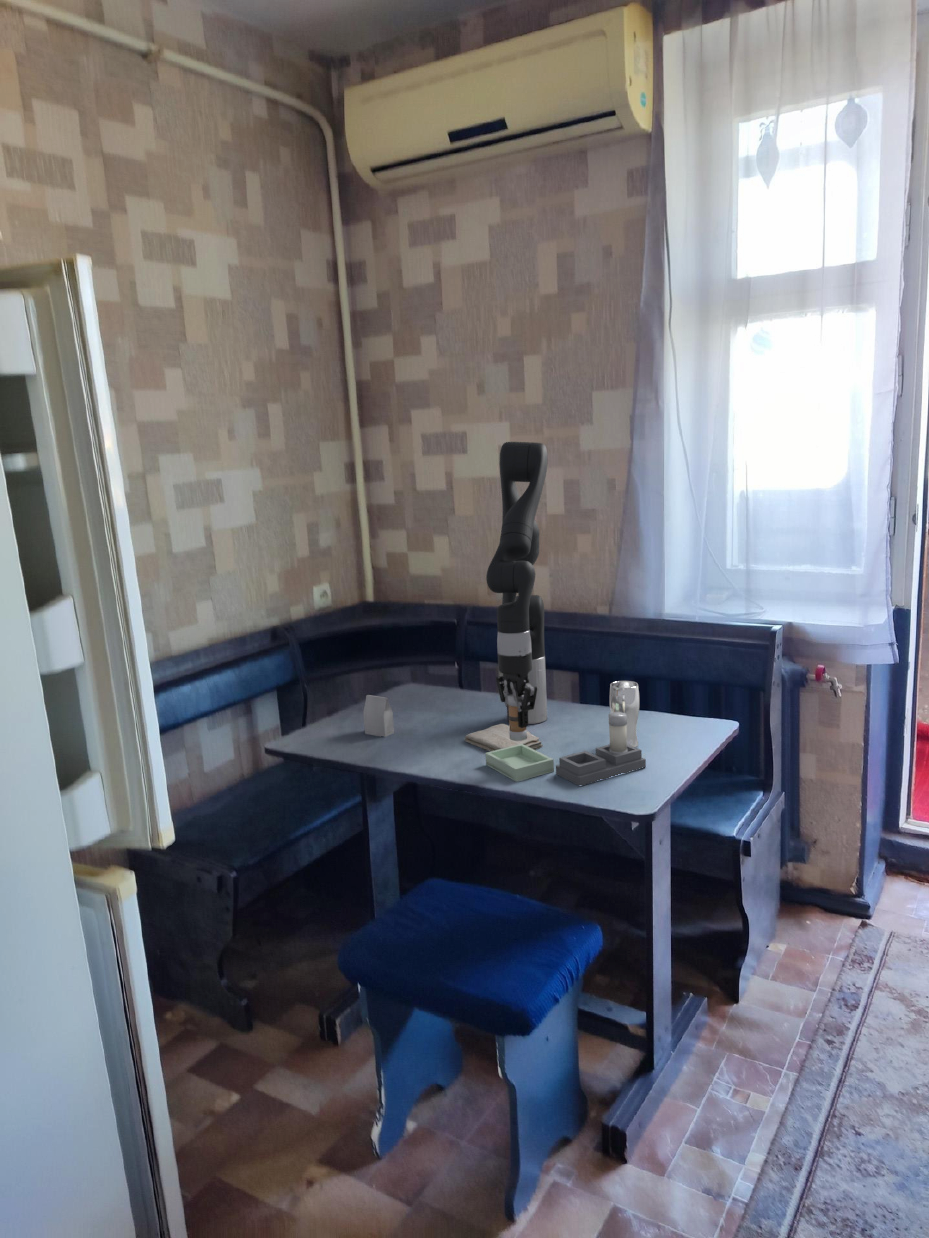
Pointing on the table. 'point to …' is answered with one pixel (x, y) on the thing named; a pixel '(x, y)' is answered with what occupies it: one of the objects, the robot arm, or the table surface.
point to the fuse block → (598, 764)
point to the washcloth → (500, 738)
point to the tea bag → (378, 716)
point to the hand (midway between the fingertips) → (518, 724)
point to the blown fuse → (515, 721)
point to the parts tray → (519, 762)
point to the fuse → (618, 732)
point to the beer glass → (626, 706)
